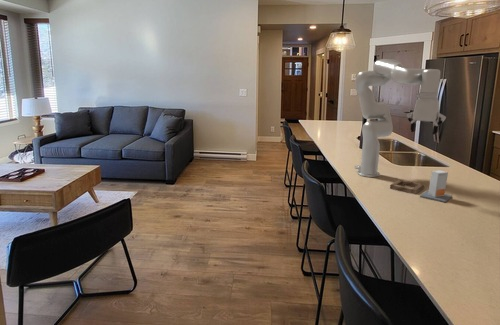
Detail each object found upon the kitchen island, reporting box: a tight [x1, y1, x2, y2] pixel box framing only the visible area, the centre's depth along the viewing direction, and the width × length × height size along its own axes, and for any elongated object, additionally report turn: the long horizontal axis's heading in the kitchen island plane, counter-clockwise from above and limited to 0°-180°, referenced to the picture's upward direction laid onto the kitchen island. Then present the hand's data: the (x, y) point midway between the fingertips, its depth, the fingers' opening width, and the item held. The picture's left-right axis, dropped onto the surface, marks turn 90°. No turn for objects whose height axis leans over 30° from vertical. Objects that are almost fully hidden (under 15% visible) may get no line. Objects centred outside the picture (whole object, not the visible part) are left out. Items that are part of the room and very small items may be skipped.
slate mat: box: [419, 189, 453, 203], centre depth 170 cm, size 11×11×1 cm
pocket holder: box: [389, 179, 425, 195], centre depth 183 cm, size 12×13×2 cm
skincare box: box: [428, 170, 449, 197], centre depth 169 cm, size 6×4×12 cm
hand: (423, 132), depth 168 cm, fingers open, 9 cm apart
